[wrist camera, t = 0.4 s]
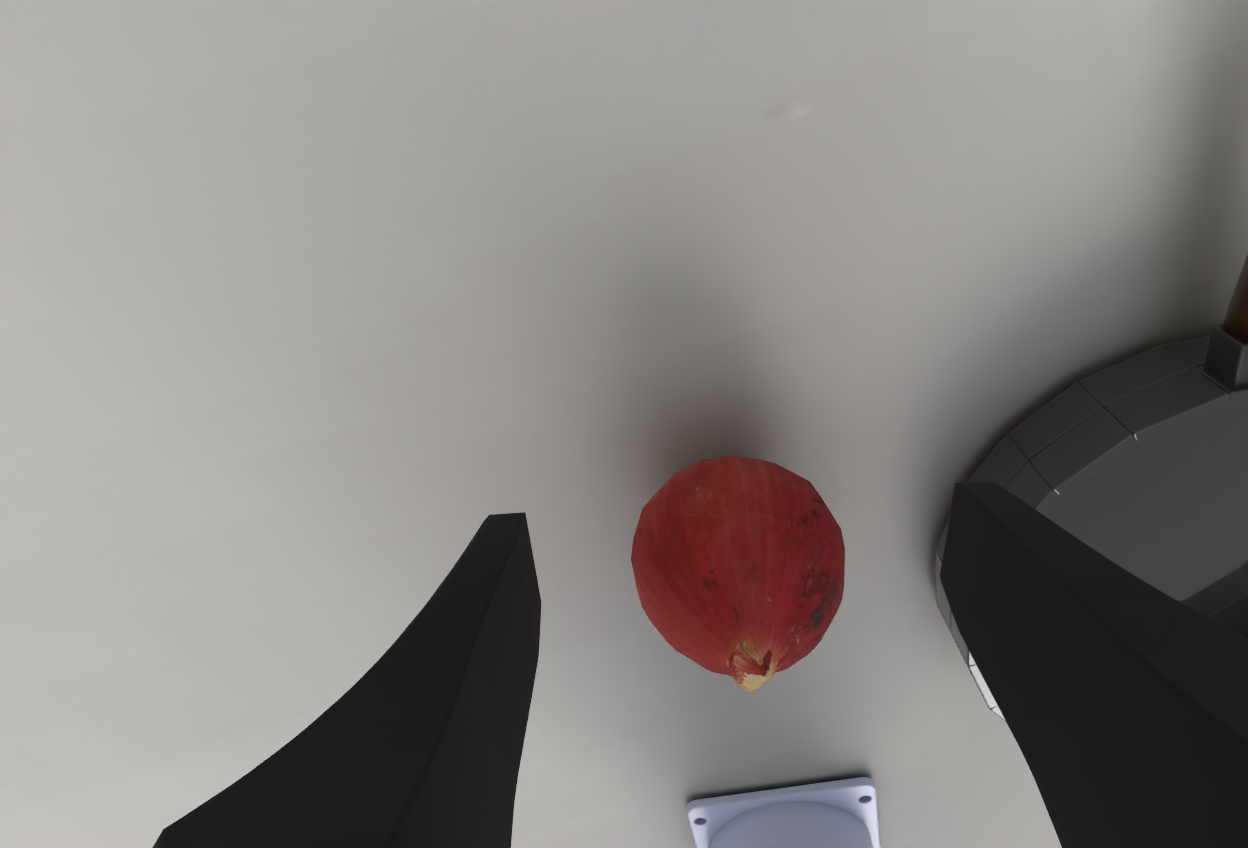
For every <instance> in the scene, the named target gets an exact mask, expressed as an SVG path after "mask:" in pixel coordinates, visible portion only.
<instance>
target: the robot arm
mask: <svg viewBox="0 0 1248 848" xmlns="http://www.w3.org/2000/svg"><path fill="white" fill-rule="evenodd" d="M939 577H940V580H941V583H942V586H943V589H944V592H945V595H946V597H947V600H948V603H949V606H950V609H951V611H952V614H953V617H954V619H955V622H956V625H957V627H958V630H959V632H960V634H961V636H962V638H963V640H964V642H965V644H966V646H967V648H968V650H969V652H970V654H971V656H972V658H973V660H974V661H975V663H976V665H977V667H978V669H979V671H980V673H981V675H982V677H983V679H984V681H985V682H986V684H987V686H988V688H989V690H990V692H991V694H992V696H993V698H994V699H995V701H996V703H997V705H998V707H999V709H1000V711H1001V713H1002V715H1003V717H1004V718H1005V720H1006V722H1007V724H1008V726H1009V728H1010V730H1011V732H1012V734H1013V735H1014V737H1015V739H1016V741H1017V743H1018V745H1019V747H1020V749H1021V751H1022V753H1023V755H1024V757H1025V759H1026V761H1027V763H1028V765H1029V768H1030V770H1031V772H1032V774H1033V776H1034V778H1035V781H1036V783H1037V786H1038V788H1039V791H1040V793H1041V796H1042V798H1043V801H1044V803H1045V806H1046V808H1047V811H1048V813H1049V816H1050V818H1051V821H1052V823H1053V826H1054V828H1055V831H1056V833H1057V835H1058V838H1059V841H1060V843H1061V846H1062V848H1248V637H1246V636H1244V635H1241V634H1239V633H1237V632H1236V631H1234V630H1232V629H1230V628H1228V627H1226V626H1224V625H1222V624H1220V623H1218V622H1216V621H1214V620H1212V619H1211V618H1209V617H1207V616H1205V615H1203V614H1201V613H1199V612H1197V611H1195V610H1193V609H1191V608H1190V607H1188V606H1186V605H1184V604H1182V603H1181V602H1179V601H1177V600H1175V599H1173V598H1172V597H1170V596H1168V595H1166V594H1165V593H1163V592H1161V591H1160V590H1158V589H1156V588H1155V587H1153V586H1151V585H1150V584H1148V583H1146V582H1145V581H1143V580H1141V579H1140V578H1138V577H1136V576H1135V575H1133V574H1131V573H1130V572H1128V571H1127V570H1125V569H1124V568H1122V567H1120V566H1119V565H1117V564H1116V563H1114V562H1112V561H1111V560H1109V559H1108V558H1106V557H1105V556H1103V555H1102V554H1100V553H1099V552H1097V551H1096V550H1094V549H1093V548H1091V547H1090V546H1088V545H1087V544H1085V543H1084V542H1082V541H1081V540H1079V539H1078V538H1076V537H1075V536H1073V535H1072V534H1070V533H1069V532H1067V531H1066V530H1064V529H1063V528H1062V527H1060V526H1059V525H1057V524H1056V523H1054V522H1053V521H1051V520H1050V519H1049V518H1047V517H1046V516H1044V515H1043V514H1041V513H1040V512H1039V511H1037V510H1036V509H1034V508H1033V507H1031V506H1030V505H1028V504H1027V503H1026V502H1024V501H1023V500H1021V499H1020V498H1018V497H1017V496H1015V495H1014V494H1012V493H1011V492H1009V491H1008V490H1006V489H1005V488H1003V487H1002V486H1000V485H999V484H997V483H995V482H994V481H985V482H970V483H956V484H955V490H954V496H953V501H952V507H951V513H950V519H949V524H948V530H947V536H946V541H945V547H944V553H943V559H942V564H941V570H940V576H939ZM540 618H541V598H540V593H539V587H538V581H537V576H536V570H535V565H534V559H533V554H532V548H531V542H530V537H529V531H528V526H527V520H526V515H525V513H511V514H496V515H489V516H488V517H487V518H486V519H485V520H484V522H483V523H482V525H481V526H480V528H479V529H478V531H477V533H476V534H475V536H474V537H473V539H472V540H471V542H470V543H469V545H468V546H467V548H466V549H465V551H464V552H463V554H462V555H461V557H460V558H459V560H458V561H457V563H456V564H455V565H454V567H453V568H452V570H451V571H450V573H449V574H448V575H447V577H446V578H445V579H444V581H443V582H442V583H441V585H440V586H439V588H438V589H437V590H436V592H435V593H434V594H433V596H432V597H431V598H430V600H429V601H428V602H427V604H426V605H425V606H424V608H423V609H422V610H421V611H420V612H419V614H418V615H417V616H416V617H415V618H414V620H413V621H412V622H411V623H410V625H409V626H408V627H407V628H406V629H405V631H404V632H403V633H402V634H401V635H400V637H399V638H398V639H397V640H396V641H395V642H394V644H393V645H392V646H391V647H390V648H389V649H388V650H387V651H386V653H385V654H384V655H383V656H382V657H381V658H380V659H379V660H378V661H377V662H376V663H375V664H374V665H373V667H372V668H371V669H370V670H369V671H368V672H367V673H366V674H365V675H364V676H363V677H362V678H361V679H360V680H359V681H358V682H357V683H356V684H355V685H354V686H353V687H352V688H351V689H350V690H348V691H347V692H346V693H345V694H344V695H343V696H342V697H341V698H340V699H339V700H338V701H337V702H335V703H334V704H333V705H332V706H331V707H330V708H329V709H327V710H326V711H325V712H324V713H323V714H322V715H321V716H320V717H318V718H317V719H316V720H315V721H314V722H313V723H312V724H311V725H309V726H308V727H307V728H306V729H305V730H304V731H302V732H301V733H300V734H299V735H297V736H296V737H295V738H294V739H292V740H291V741H290V742H289V743H287V744H286V745H285V746H284V747H282V748H281V749H280V750H278V751H277V752H276V753H275V754H273V755H272V756H271V757H269V758H268V759H267V760H265V761H264V762H263V763H261V764H260V765H258V766H257V767H256V768H254V769H253V770H252V771H250V772H249V773H248V774H246V775H245V776H243V777H242V778H241V779H239V780H238V781H236V782H235V783H234V784H232V785H231V786H229V787H228V788H226V789H225V790H223V791H222V792H220V793H219V794H217V795H216V796H214V797H213V798H211V799H210V800H208V801H207V802H205V803H203V804H202V805H200V806H199V807H197V808H196V809H194V810H193V811H191V812H190V813H188V814H187V815H185V816H184V817H182V818H181V819H179V820H178V821H176V822H174V823H173V824H171V825H170V826H168V827H166V828H165V829H163V831H162V833H161V834H160V836H159V838H158V839H157V841H156V843H155V844H154V846H153V848H511V836H512V823H513V810H514V800H515V793H516V785H517V778H518V772H519V766H520V760H521V755H522V749H523V743H524V738H525V732H526V726H527V720H528V715H529V709H530V703H531V698H532V692H533V686H534V680H535V674H536V668H537V662H538V655H539V638H540ZM686 812H687V818H688V821H689V825H690V828H691V831H692V835H693V838H694V842H695V845H696V848H881V846H880V833H879V820H878V807H877V794H876V787H875V784H874V782H873V780H872V779H870V778H867V777H858V778H851V779H844V780H836V781H829V782H822V783H814V784H807V785H800V786H793V787H785V788H778V789H771V790H763V791H756V792H749V793H741V794H734V795H727V796H720V797H712V798H705V799H698V800H693V801H691V802H689V803H688V804H687V806H686Z"/></svg>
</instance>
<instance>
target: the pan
mask: <svg viewBox="0 0 1248 848" xmlns="http://www.w3.org/2000/svg"><path fill="white" fill-rule="evenodd" d="M1209 339H1210V335H1208V336H1203V337H1198V338H1192V339H1187V340H1181V341H1176V342H1171V343H1165V344H1164V345H1162V344H1160V345H1158V346H1155V347H1153V348H1151V349H1149V350H1146V351H1144V352H1142V353H1140V354H1137V355H1135V356H1133V357H1130V358H1128V359H1126V360H1124V361H1121V362H1119V363H1117V364H1115V365H1112V366H1110V367H1108V368H1106V369H1103V370H1101V371H1099V372H1096V373H1094V374H1092V375H1090V376H1087V377H1085V378H1083V379H1081V380H1078V383H1077V382H1075V383H1074V384H1072V385H1071V386H1070V387H1068V388H1067V389H1066V390H1064V391H1063V392H1062V393H1060V394H1059V395H1058V396H1056V397H1055V398H1054V399H1052V400H1051V401H1050V402H1048V403H1047V404H1045V405H1044V406H1043V407H1041V408H1040V409H1039V410H1037V411H1036V412H1035V413H1033V414H1032V415H1031V416H1029V417H1028V418H1027V419H1025V420H1024V421H1023V422H1021V423H1020V424H1019V425H1017V426H1016V427H1015V428H1013V429H1012V430H1010V431H1009V432H1008V434H1005V436H1004V437H1003V438H1002V439H1001V441H1000V442H999V443H998V444H997V445H996V447H995V448H994V449H993V450H992V452H991V453H990V454H989V455H988V456H987V458H986V459H985V460H984V461H983V463H982V464H981V465H980V466H979V467H978V469H977V470H976V471H975V472H974V474H973V475H972V476H971V477H970V478H969V480H968V481H967V482H966V483H970V482H985V481H994V482H995V483H997V484H999V485H1000V486H1002V487H1003V488H1005V489H1006V490H1008V491H1009V492H1011V493H1012V494H1014V495H1015V496H1017V497H1018V498H1020V499H1021V500H1023V501H1024V502H1026V503H1027V504H1028V505H1030V506H1031V507H1033V508H1034V509H1036V510H1037V511H1039V512H1040V513H1041V514H1043V515H1044V516H1046V517H1047V518H1049V519H1050V520H1051V521H1053V522H1054V523H1056V524H1057V525H1059V526H1060V527H1062V528H1063V529H1064V530H1066V531H1067V532H1069V533H1070V534H1072V535H1073V536H1075V537H1076V538H1078V539H1079V540H1081V541H1082V542H1084V543H1085V544H1087V545H1088V546H1090V547H1091V548H1093V549H1094V550H1096V551H1097V552H1099V553H1100V554H1102V555H1103V556H1105V557H1106V558H1108V559H1109V560H1111V561H1112V562H1114V563H1116V564H1117V565H1119V566H1120V567H1122V568H1124V569H1125V570H1127V571H1128V572H1130V573H1131V574H1133V575H1135V576H1136V577H1138V578H1140V579H1141V580H1143V581H1145V582H1146V583H1148V584H1150V585H1151V586H1153V587H1155V588H1156V589H1158V590H1160V591H1161V592H1163V593H1165V594H1166V595H1168V596H1170V597H1172V598H1173V599H1175V600H1177V601H1179V602H1181V603H1182V604H1184V605H1186V606H1188V607H1190V608H1191V609H1193V610H1195V611H1197V612H1199V613H1201V614H1203V615H1205V616H1207V617H1209V618H1211V619H1212V620H1214V621H1216V622H1218V623H1220V624H1222V625H1224V626H1226V627H1228V628H1230V629H1232V630H1234V631H1236V632H1237V633H1239V634H1241V635H1244V636H1246V637H1248V385H1245V386H1239V387H1233V386H1231V385H1229V384H1228V383H1226V382H1225V381H1224V380H1222V379H1221V378H1219V377H1218V376H1217V375H1215V374H1214V373H1212V372H1211V371H1209V370H1208V369H1207V368H1205V367H1204V365H1205V360H1206V355H1207V350H1208V344H1209ZM949 519H950V516H949V518H948V521H947V523H946V526H945V528H944V530H943V533H942V535H941V538H940V540H939V543H938V545H937V548H936V602H937V605H938V607H939V609H940V612H941V614H942V616H943V618H944V620H945V622H946V624H947V626H948V628H949V630H950V632H951V634H952V636H953V638H954V640H955V642H956V644H957V646H958V648H959V650H960V652H961V654H962V656H963V658H964V660H965V662H966V664H967V666H968V668H969V670H970V672H971V674H972V676H973V678H974V680H975V682H976V684H977V686H978V688H979V690H980V692H981V694H982V696H983V698H984V700H985V702H986V704H987V706H988V707H989V709H990V710H992V711H993V712H994V713H995V714H997V715H998V716H999V717H1001V718H1002V719H1003V720H1005V718H1004V717H1003V715H1002V713H1001V711H1000V709H999V707H998V705H997V703H996V701H995V699H994V698H993V696H992V694H991V692H990V690H989V688H988V686H987V684H986V682H985V681H984V679H983V677H982V675H981V673H980V671H979V669H978V667H977V665H976V663H975V661H974V660H973V658H972V656H971V654H970V652H969V650H968V648H967V646H966V644H965V642H964V640H963V638H962V636H961V634H960V632H959V630H958V627H957V625H956V622H955V619H954V617H953V614H952V611H951V609H950V606H949V603H948V600H947V597H946V595H945V592H944V589H943V586H942V583H941V580H940V577H939V576H940V570H941V564H942V559H943V553H944V547H945V541H946V536H947V530H948V524H949ZM1005 721H1006V720H1005Z"/></svg>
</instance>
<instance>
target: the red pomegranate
mask: <svg viewBox="0 0 1248 848" xmlns="http://www.w3.org/2000/svg"><path fill="white" fill-rule="evenodd" d="M631 561H632V566H633V571H634V576H635V581H636V587H637V590H638V594H639V597H640V601H641V605H642V607H643V609H644V611H645V612H646V614H647V616H648V618H649V619H650V621H651V622H652V624H653V625H654V626H655V627H656V628H657V630H658V631H659V632H660V633H661V635H662V636H663V637H664V638H665V640H666V641H667V642H668V643H669V644H670V645H671V646H672V647H673V648H674V649H675V650H677V651H678V652H680V653H681V654H683V655H685V656H686V657H688V658H690V659H691V660H693V661H694V662H696V663H698V664H699V665H701V666H702V667H704V668H706V669H707V670H710V671H712V672H715V673H720V674H725V675H730V676H731V677H732V678H733V679H734V681H735V682H736V683H737V685H738V686H741V687H744V688H745V689H746V691H747V692H750V691H755V690H757V689H758V688H759V687H761V686H762V685H763V684H765V683H766V682H767V681H768V680H769V679H770V678H771V677H772V676H773V675H774V674H775V673H776V672H779V671H782V670H785V669H787V668H789V667H790V666H792V665H793V664H795V663H796V662H798V661H799V660H801V659H802V658H804V657H805V656H807V655H808V654H809V653H810V652H811V651H812V650H813V649H814V648H815V647H816V646H817V645H818V643H819V642H820V641H821V639H822V637H823V636H824V634H825V632H826V630H827V629H828V627H829V625H830V623H831V621H832V620H833V618H834V616H835V614H836V612H837V610H838V608H839V606H840V603H841V601H842V595H843V589H844V564H845V547H844V542H843V537H842V532H841V528H840V527H839V525H838V524H837V522H836V520H835V519H834V517H833V516H832V514H831V512H830V511H829V509H828V508H827V506H826V504H825V503H824V501H823V500H822V498H821V496H820V495H819V494H818V492H817V491H816V490H815V488H814V487H813V486H812V484H811V483H810V482H809V481H807V480H805V479H804V478H802V477H800V476H798V475H796V474H794V473H792V472H790V471H789V470H787V469H785V468H783V467H781V466H779V465H777V464H775V463H771V462H767V461H763V460H757V459H751V458H745V457H739V456H728V457H720V458H713V459H705V460H701V461H699V462H697V463H695V464H693V465H691V466H689V467H687V468H685V469H683V470H681V471H679V472H677V473H675V474H674V475H673V476H672V477H671V478H670V479H669V480H668V481H667V482H666V483H665V485H664V486H663V487H662V488H661V489H660V490H659V491H658V492H657V493H656V494H655V495H654V496H653V497H652V498H651V500H650V501H649V502H648V503H647V504H646V505H645V506H644V507H643V509H642V512H641V515H640V519H639V522H638V525H637V529H636V532H635V535H634V539H633V547H632V556H631Z"/></svg>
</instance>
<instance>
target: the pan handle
mask: <svg viewBox="0 0 1248 848" xmlns="http://www.w3.org/2000/svg"><path fill="white" fill-rule="evenodd" d="M1204 367H1205V368H1207V369H1208V370H1209V371H1211V372H1212V373H1214V374H1215V375H1217V376H1218V377H1219V378H1221V379H1222V380H1224V381H1225V382H1226V383H1228V384H1229V385H1231V386H1233V387H1239V386H1245V385H1248V254H1247V257H1246V260H1245V263H1244V266H1243V268H1242V271H1241V274H1240V277H1239V279H1238V282H1237V285H1236V288H1235V291H1234V293H1233V296H1232V299H1231V302H1230V304H1229V307H1228V310H1227V313H1226V316H1225V318H1224V321H1223V324H1220V325H1215V326H1213V327H1212V329H1211V334H1210V339H1209V344H1208V350H1207V355H1206V360H1205V365H1204Z"/></svg>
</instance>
